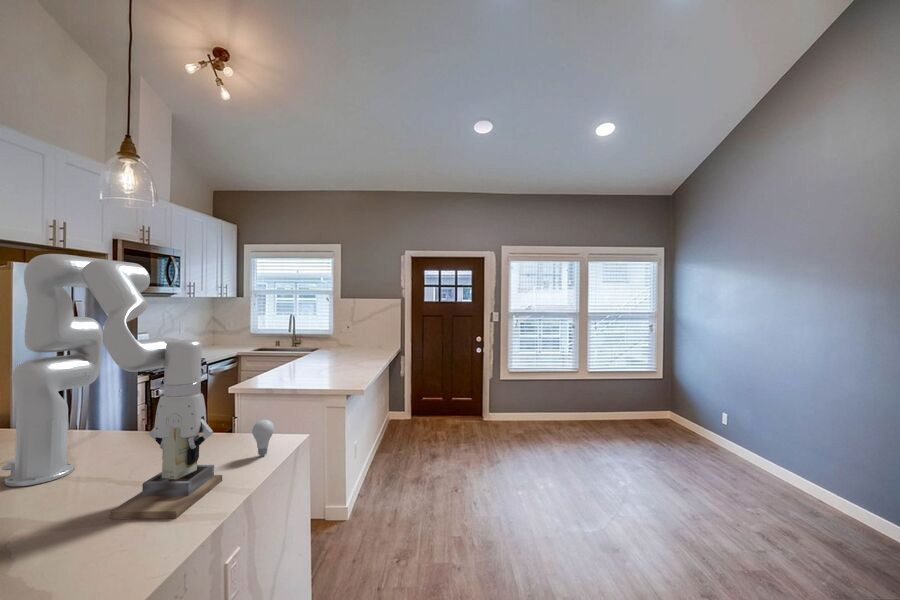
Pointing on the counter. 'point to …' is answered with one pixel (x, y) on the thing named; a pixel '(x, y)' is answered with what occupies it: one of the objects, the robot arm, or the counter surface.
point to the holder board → (168, 495)
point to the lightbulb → (263, 435)
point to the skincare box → (176, 456)
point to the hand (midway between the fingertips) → (180, 462)
